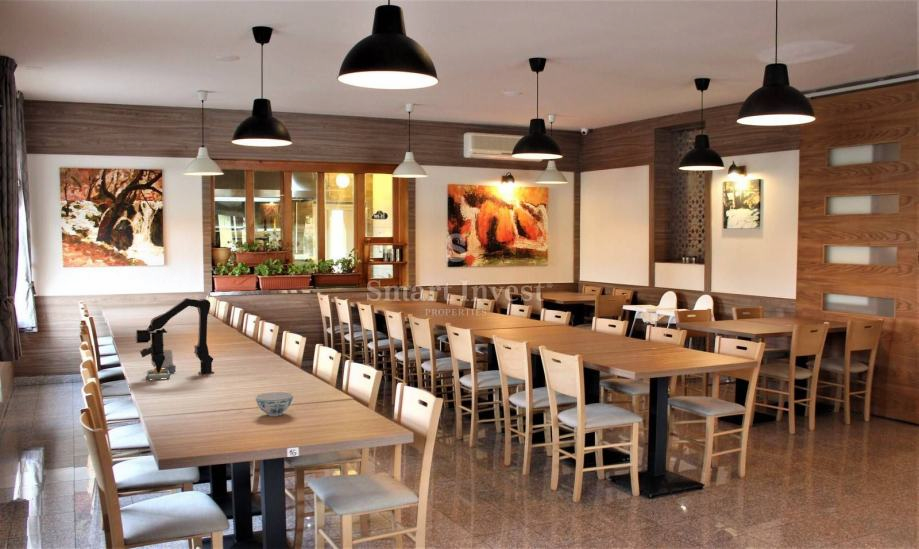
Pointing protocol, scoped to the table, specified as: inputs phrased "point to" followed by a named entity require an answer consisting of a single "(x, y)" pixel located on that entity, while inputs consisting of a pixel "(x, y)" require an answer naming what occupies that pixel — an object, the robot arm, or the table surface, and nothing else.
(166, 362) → the mug
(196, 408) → the table surface
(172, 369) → the cylinder with square socket
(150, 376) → the tray
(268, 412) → the chinaware
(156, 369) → the ball
